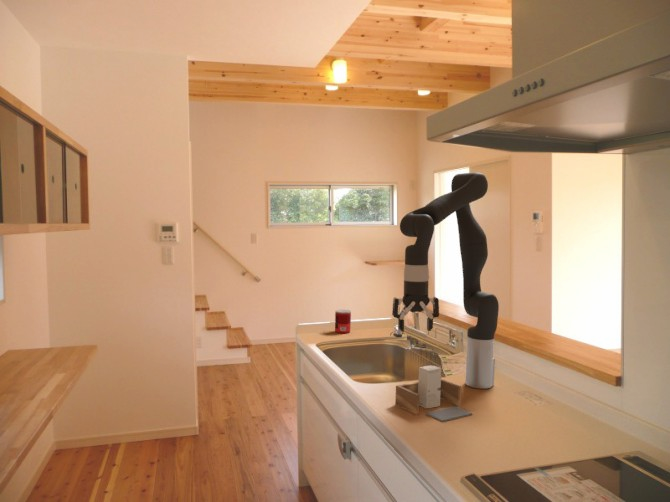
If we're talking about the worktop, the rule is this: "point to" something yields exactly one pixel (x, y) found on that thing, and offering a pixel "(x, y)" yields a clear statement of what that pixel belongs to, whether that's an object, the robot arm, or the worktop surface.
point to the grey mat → (448, 413)
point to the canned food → (342, 321)
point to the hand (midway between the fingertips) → (415, 330)
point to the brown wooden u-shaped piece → (410, 397)
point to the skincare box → (429, 386)
